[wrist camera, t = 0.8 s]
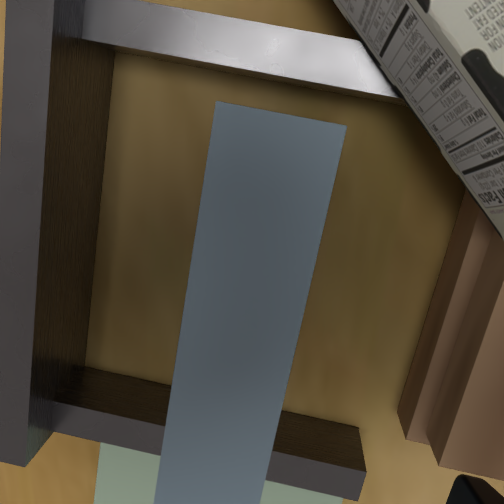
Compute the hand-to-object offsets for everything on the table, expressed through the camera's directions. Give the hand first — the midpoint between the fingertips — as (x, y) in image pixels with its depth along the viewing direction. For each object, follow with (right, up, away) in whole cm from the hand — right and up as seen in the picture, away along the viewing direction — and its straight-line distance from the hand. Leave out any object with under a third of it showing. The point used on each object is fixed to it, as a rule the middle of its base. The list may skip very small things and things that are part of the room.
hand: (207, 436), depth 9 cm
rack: (0, +3, +12) cm, 13 cm away
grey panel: (+1, +3, +12) cm, 13 cm away
